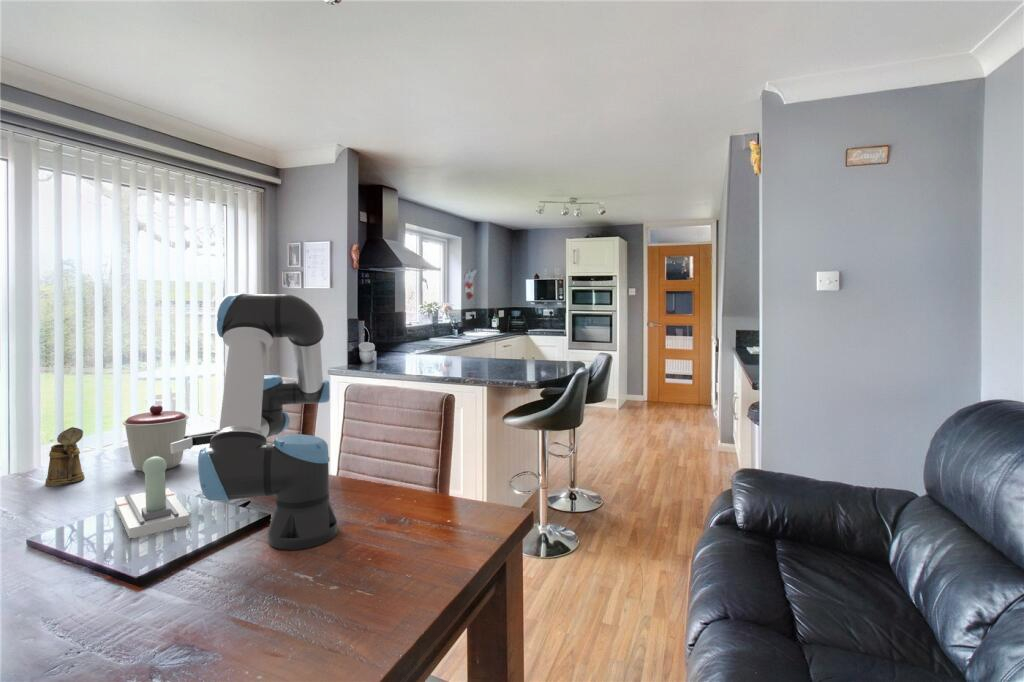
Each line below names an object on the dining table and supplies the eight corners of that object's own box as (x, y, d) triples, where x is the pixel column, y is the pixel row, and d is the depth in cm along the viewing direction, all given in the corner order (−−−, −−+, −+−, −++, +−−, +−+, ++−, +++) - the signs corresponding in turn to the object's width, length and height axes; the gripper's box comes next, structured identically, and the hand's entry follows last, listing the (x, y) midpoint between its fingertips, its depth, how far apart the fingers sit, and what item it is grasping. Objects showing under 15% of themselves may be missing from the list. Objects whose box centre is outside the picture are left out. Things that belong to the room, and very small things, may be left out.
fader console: (189, 524, 127) (189, 511, 127) (129, 539, 119) (128, 525, 118) (168, 496, 146) (167, 485, 146) (114, 507, 138) (114, 495, 137)
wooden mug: (55, 491, 149) (52, 430, 148) (41, 482, 157) (38, 423, 156) (93, 483, 156) (90, 424, 155) (78, 475, 164) (76, 419, 163)
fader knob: (171, 514, 126) (169, 456, 125) (145, 520, 123) (143, 461, 122) (166, 508, 130) (165, 452, 129) (141, 514, 126) (139, 456, 125)
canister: (137, 462, 178) (134, 401, 177) (196, 458, 184) (194, 399, 183) (114, 478, 161) (111, 411, 160) (180, 473, 167) (178, 408, 165)
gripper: (285, 446, 156) (234, 467, 135) (214, 440, 161) (154, 460, 140) (285, 421, 155) (233, 439, 135) (213, 416, 160) (153, 433, 140)
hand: (193, 450), depth 137 cm, fingers open, 13 cm apart
